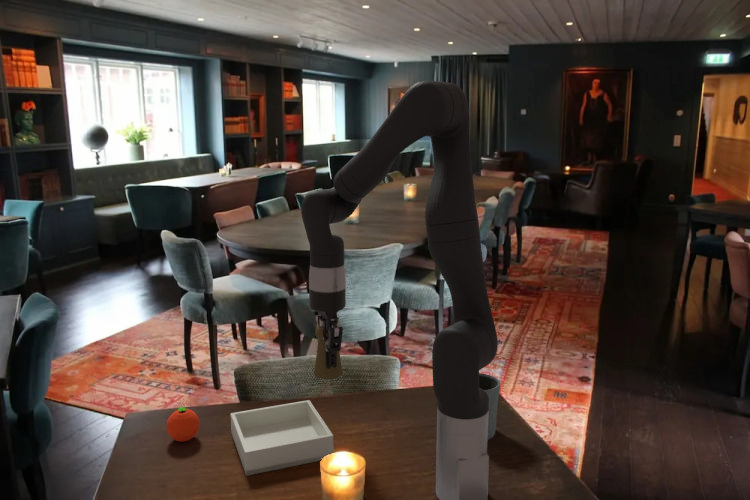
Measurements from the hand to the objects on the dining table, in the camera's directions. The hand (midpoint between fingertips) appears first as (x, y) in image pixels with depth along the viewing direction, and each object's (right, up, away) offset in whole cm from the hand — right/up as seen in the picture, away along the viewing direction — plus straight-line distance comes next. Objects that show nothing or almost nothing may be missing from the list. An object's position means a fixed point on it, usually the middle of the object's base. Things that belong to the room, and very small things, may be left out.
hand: (327, 363), depth 133 cm
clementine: (-32, -18, +5) cm, 37 cm away
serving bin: (-10, -18, +1) cm, 21 cm away
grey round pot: (+33, -17, +7) cm, 37 cm away
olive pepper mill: (0, -2, +1) cm, 2 cm away
